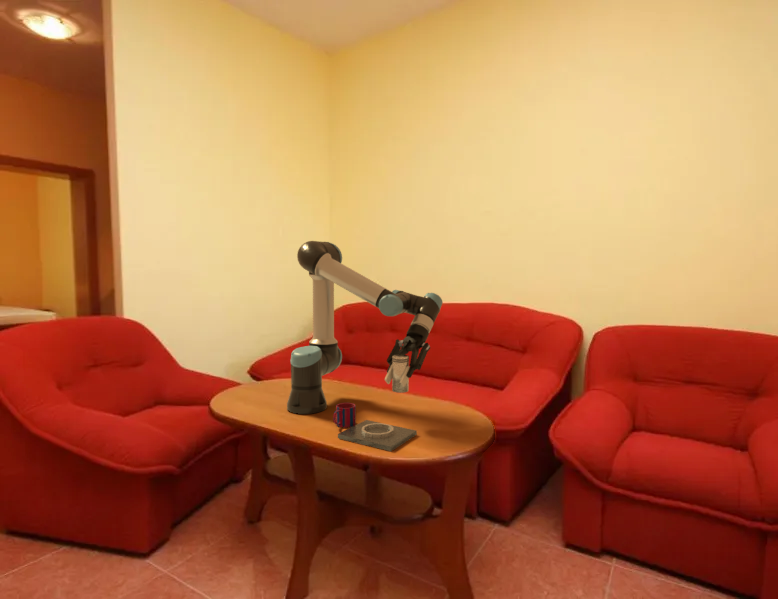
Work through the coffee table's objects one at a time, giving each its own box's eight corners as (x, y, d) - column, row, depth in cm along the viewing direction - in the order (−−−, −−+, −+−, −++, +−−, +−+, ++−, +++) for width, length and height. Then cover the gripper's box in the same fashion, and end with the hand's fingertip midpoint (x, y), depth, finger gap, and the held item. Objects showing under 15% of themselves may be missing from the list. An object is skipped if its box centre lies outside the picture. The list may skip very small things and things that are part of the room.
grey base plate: (337, 438, 151) (337, 430, 150) (366, 424, 164) (366, 416, 164) (391, 451, 140) (391, 442, 140) (416, 435, 154) (416, 426, 153)
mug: (359, 424, 164) (359, 404, 164) (339, 432, 156) (339, 412, 156) (345, 420, 168) (345, 401, 168) (325, 427, 161) (325, 408, 160)
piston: (389, 389, 164) (389, 355, 163) (404, 387, 166) (405, 354, 165) (395, 393, 158) (395, 358, 157) (411, 391, 160) (411, 357, 159)
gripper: (445, 338, 168) (422, 393, 156) (402, 333, 179) (376, 385, 166) (438, 325, 163) (413, 381, 151) (394, 321, 174) (367, 373, 162)
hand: (394, 383), depth 159 cm, fingers closed on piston, 5 cm apart
